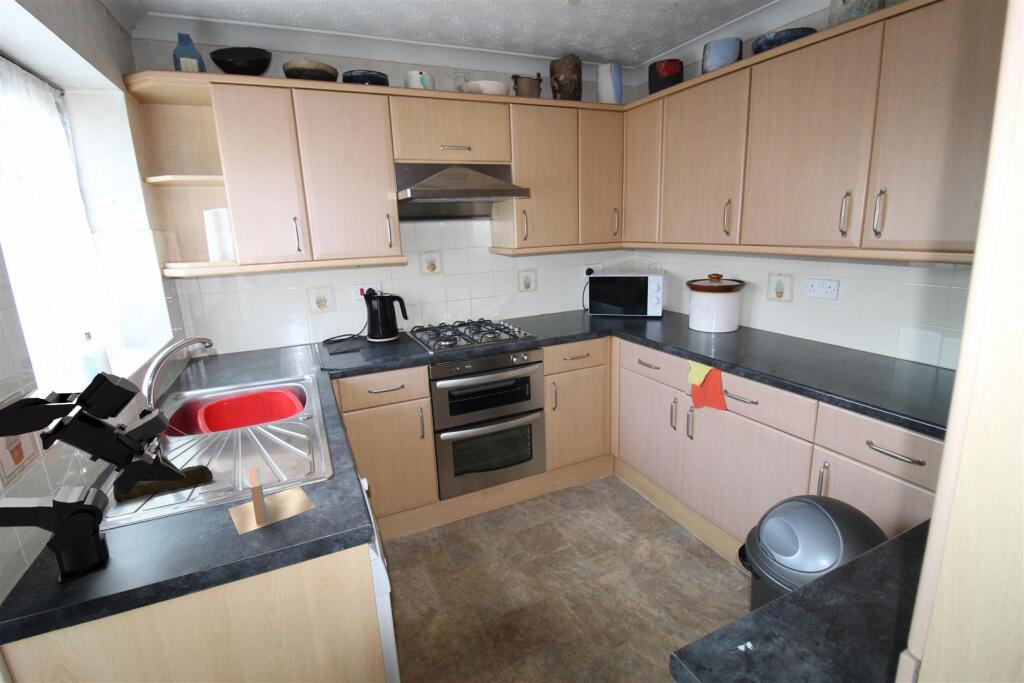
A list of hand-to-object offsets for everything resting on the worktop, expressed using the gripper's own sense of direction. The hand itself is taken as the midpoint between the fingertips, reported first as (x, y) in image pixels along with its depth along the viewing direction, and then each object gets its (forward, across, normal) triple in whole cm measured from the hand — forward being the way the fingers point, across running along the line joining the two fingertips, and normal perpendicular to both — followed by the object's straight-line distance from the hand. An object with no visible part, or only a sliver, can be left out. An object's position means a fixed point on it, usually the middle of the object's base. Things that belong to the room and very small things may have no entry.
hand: (183, 478), depth 95 cm
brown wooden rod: (+5, +26, +14) cm, 30 cm away
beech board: (+19, 0, -1) cm, 19 cm away
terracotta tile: (+16, 0, 0) cm, 16 cm away
